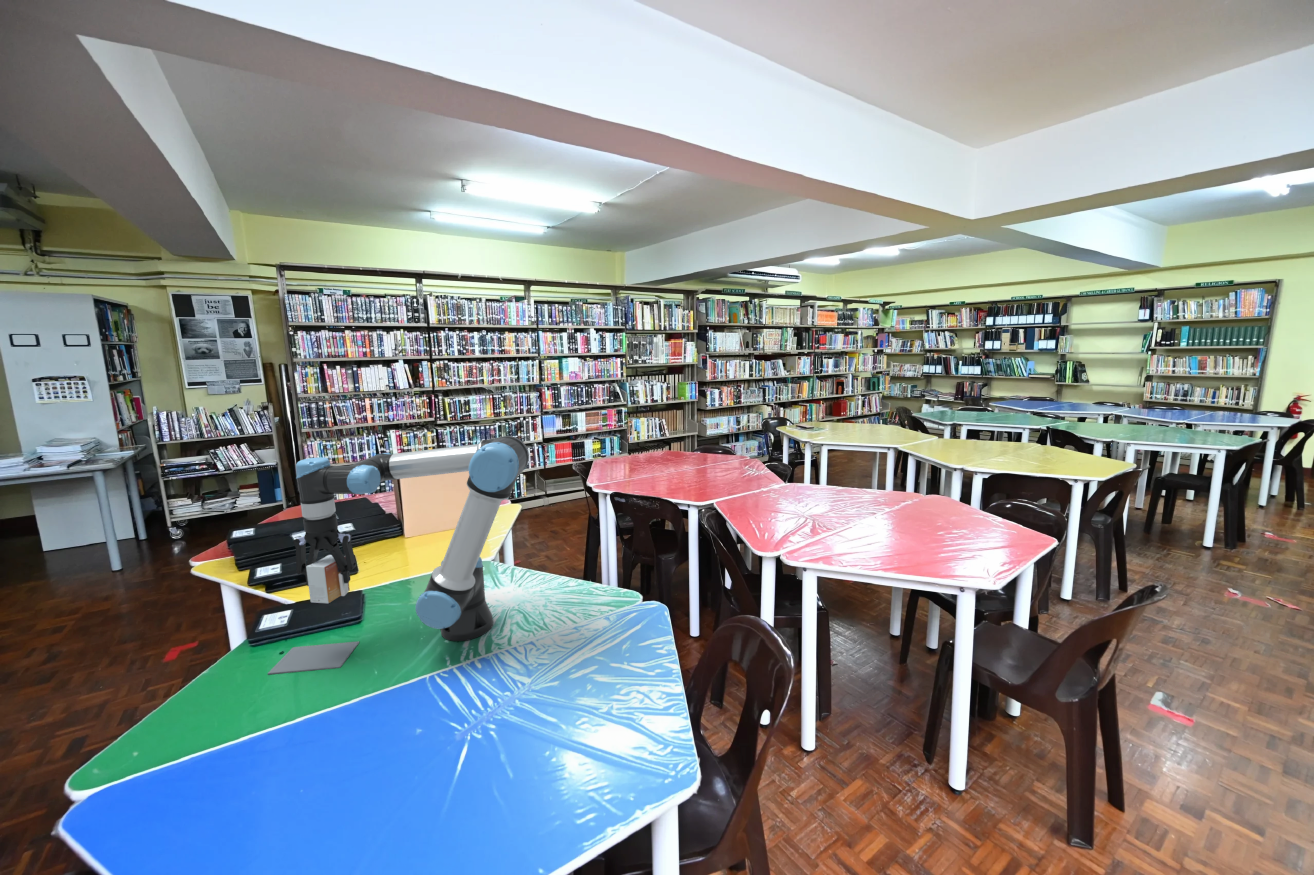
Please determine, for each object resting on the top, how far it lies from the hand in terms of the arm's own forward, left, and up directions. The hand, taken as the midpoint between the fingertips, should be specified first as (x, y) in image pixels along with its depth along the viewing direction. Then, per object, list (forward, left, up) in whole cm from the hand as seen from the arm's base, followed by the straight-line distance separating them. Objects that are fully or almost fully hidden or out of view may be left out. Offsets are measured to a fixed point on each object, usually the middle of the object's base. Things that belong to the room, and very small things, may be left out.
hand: (330, 594), depth 138 cm
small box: (0, 0, -1) cm, 1 cm away
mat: (+6, 0, -19) cm, 20 cm away
